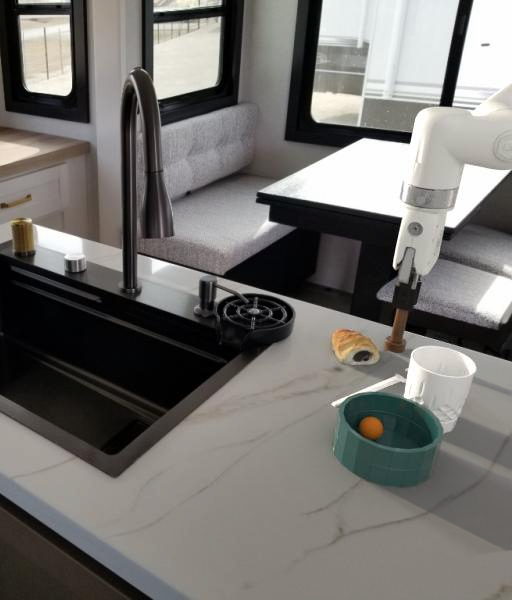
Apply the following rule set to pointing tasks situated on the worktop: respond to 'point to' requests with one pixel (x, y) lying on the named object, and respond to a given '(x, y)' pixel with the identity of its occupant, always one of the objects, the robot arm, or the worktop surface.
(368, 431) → the ball
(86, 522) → the worktop surface
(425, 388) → the white cup
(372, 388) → the fork
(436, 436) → the bowl
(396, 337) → the brown wooden pestle
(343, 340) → the pastry
